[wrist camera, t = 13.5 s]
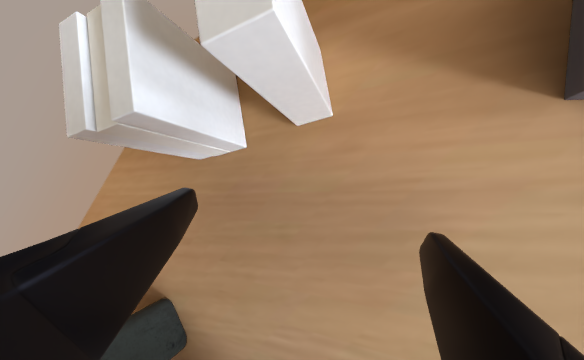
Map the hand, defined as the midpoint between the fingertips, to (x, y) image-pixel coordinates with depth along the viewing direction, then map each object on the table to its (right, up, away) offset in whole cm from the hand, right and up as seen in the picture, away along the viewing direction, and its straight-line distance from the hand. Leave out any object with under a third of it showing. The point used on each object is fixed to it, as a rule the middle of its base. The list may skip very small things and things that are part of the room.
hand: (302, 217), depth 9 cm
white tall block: (+1, +9, +9) cm, 13 cm away
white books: (-7, +7, +12) cm, 16 cm away
